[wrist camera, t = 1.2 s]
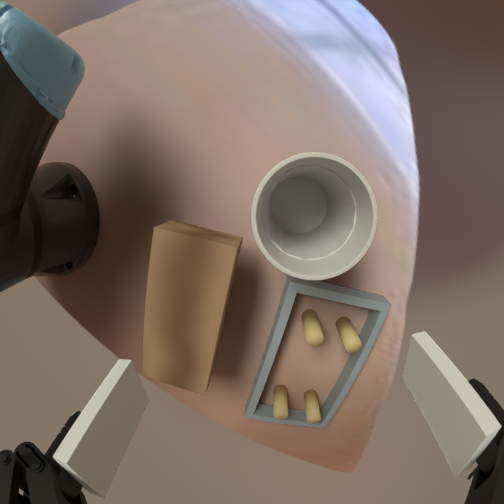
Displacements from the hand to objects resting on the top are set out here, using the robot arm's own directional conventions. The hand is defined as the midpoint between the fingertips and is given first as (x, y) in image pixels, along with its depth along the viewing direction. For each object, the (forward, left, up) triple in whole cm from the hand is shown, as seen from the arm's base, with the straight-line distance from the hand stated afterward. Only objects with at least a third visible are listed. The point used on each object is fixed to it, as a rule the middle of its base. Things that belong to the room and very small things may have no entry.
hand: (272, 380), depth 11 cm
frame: (+8, -11, -19) cm, 23 cm away
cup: (+1, +7, -19) cm, 20 cm away
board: (-7, -5, -15) cm, 17 cm away
